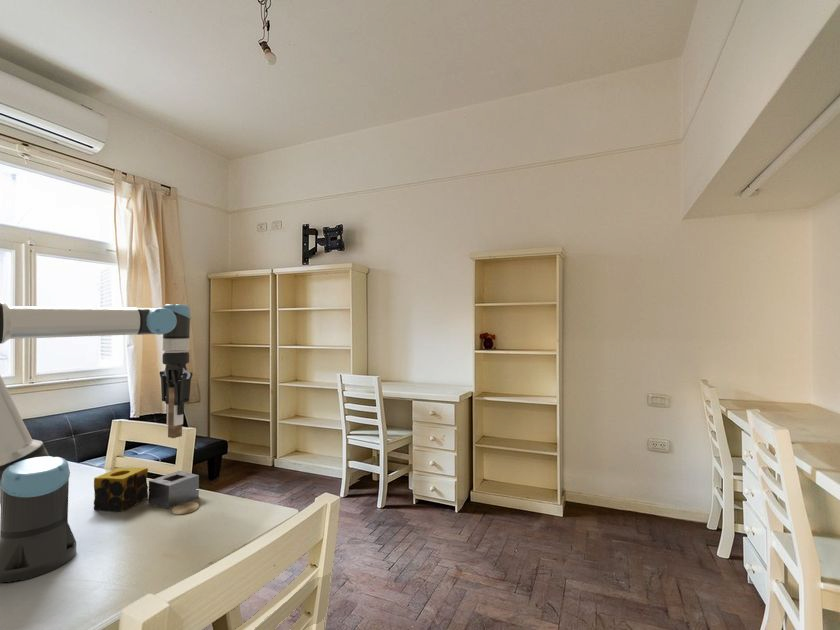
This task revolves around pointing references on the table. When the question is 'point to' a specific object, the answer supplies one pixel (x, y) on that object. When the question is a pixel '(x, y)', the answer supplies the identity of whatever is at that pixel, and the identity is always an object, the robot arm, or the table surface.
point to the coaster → (185, 508)
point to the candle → (120, 489)
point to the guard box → (173, 489)
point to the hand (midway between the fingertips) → (174, 424)
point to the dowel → (172, 416)
